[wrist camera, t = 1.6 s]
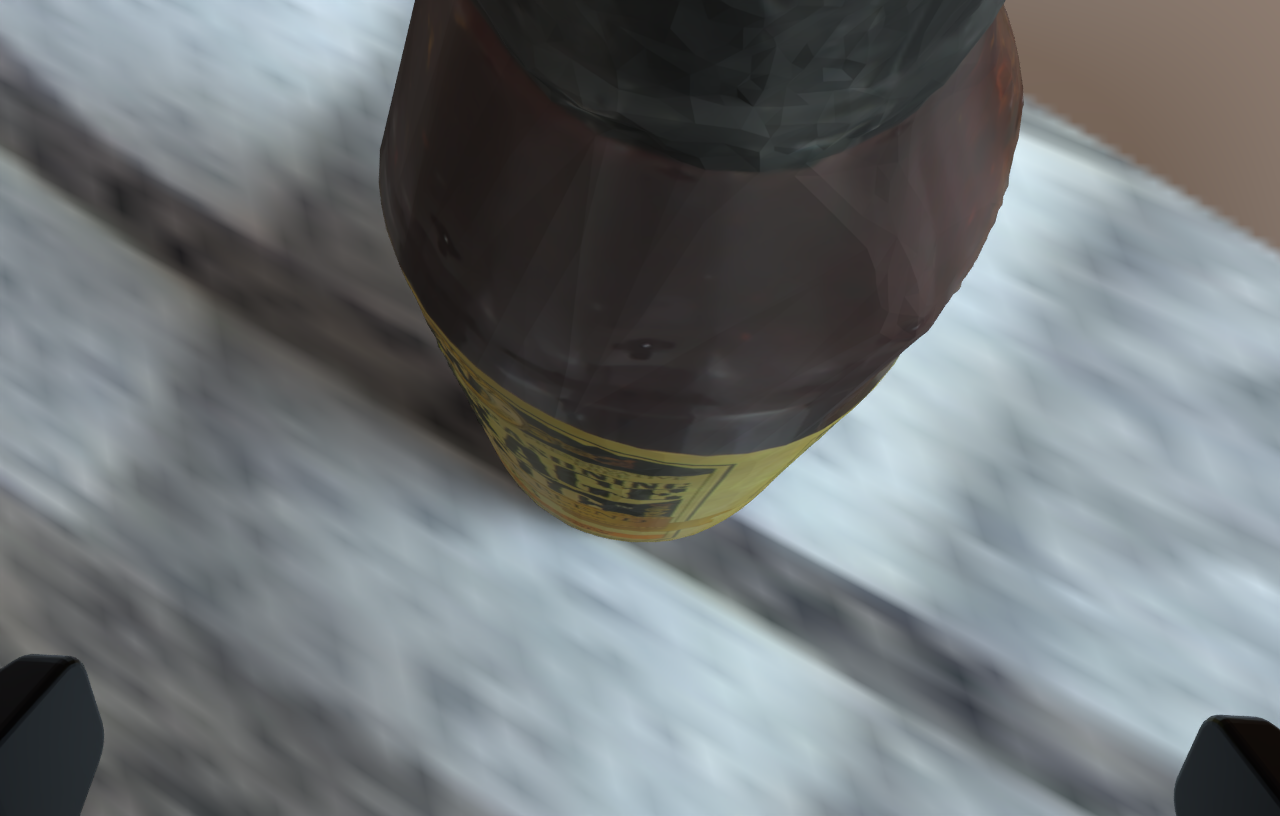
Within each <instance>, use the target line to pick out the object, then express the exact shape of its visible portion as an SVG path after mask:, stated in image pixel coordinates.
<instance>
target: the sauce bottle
mask: <svg viewBox="0 0 1280 816" xmlns="http://www.w3.org/2000/svg"><path fill="white" fill-rule="evenodd" d="M1004 2H1005V0H415V3H414V7H413V12H412V16H411V20H410V24H409V29H408V33H407V37H406V42H405V46H404V50H403V54H402V59H401V63H400V67H399V71H398V76H397V80H396V84H395V89H394V93H393V97H392V101H391V106H390V110H389V114H388V118H387V123H386V127H385V131H384V135H383V140H382V144H381V148H380V166H379V188H380V197H381V205H382V210H383V215H384V219H385V224H386V229H387V232H388V235H389V237H390V240H391V243H392V246H393V249H394V251H395V254H396V257H397V260H398V262H399V265H400V267H401V270H402V272H403V274H404V276H405V278H406V281H407V283H408V285H409V286H410V288H411V290H412V292H413V294H414V295H415V297H416V299H417V301H418V304H419V306H420V308H421V310H422V313H423V315H424V317H425V319H426V322H427V324H428V326H429V327H430V329H431V331H432V332H433V334H434V335H435V337H436V339H437V343H438V347H439V348H440V350H441V351H442V352H443V354H444V356H445V358H446V359H447V362H448V365H449V367H450V368H451V370H452V372H453V373H454V375H455V377H456V378H457V380H458V382H459V384H460V386H461V387H462V389H463V391H464V393H465V394H466V396H467V399H468V401H469V403H470V405H471V406H472V409H473V411H474V413H475V414H476V417H477V420H478V422H479V423H480V424H481V425H482V426H483V428H484V430H485V432H486V433H487V435H488V437H489V439H490V441H491V443H492V445H493V447H494V448H495V450H496V452H497V454H498V456H499V458H500V459H501V461H502V463H503V464H504V466H505V468H506V469H507V470H508V472H509V473H510V475H511V476H512V477H513V478H514V480H515V481H516V482H517V484H518V485H519V486H520V487H521V488H522V489H523V490H524V491H525V492H526V493H527V495H528V496H529V497H530V498H531V499H532V500H533V501H534V502H535V503H536V504H537V505H538V506H540V507H541V508H543V509H544V510H546V511H547V512H549V513H550V514H551V515H553V516H555V517H556V518H558V519H560V520H561V521H563V522H564V523H566V524H567V525H569V526H571V527H574V528H576V529H578V530H581V531H583V532H586V533H590V534H593V535H596V536H600V537H604V538H608V539H614V540H621V541H628V542H659V541H670V540H675V539H679V538H683V537H687V536H691V535H694V534H696V533H699V532H701V531H703V530H706V529H708V528H710V527H712V526H714V525H716V524H718V523H720V522H721V521H723V520H725V519H727V518H728V517H730V516H731V515H733V514H734V513H736V512H737V511H739V510H740V509H742V508H743V507H744V506H745V505H747V504H748V503H749V502H750V501H751V500H753V499H754V498H755V497H756V496H757V495H758V494H759V493H760V492H762V491H763V490H764V489H765V488H766V487H767V486H768V485H769V484H770V483H771V482H772V481H773V480H774V479H775V478H776V477H777V476H778V475H779V474H780V473H781V472H782V471H783V470H785V469H786V468H787V467H788V466H789V465H790V464H791V463H792V462H794V461H795V460H796V459H797V458H798V457H799V456H800V455H801V454H803V453H804V452H805V451H806V450H807V449H808V448H809V447H810V446H811V445H813V444H814V443H815V442H816V441H817V440H819V439H820V438H821V437H822V436H823V435H824V434H825V433H826V432H827V431H828V430H829V429H830V428H832V427H833V426H834V425H835V424H836V423H837V422H838V421H839V420H840V419H841V418H843V417H844V416H845V415H846V414H848V413H849V412H850V411H851V410H852V409H854V408H855V407H856V406H857V405H858V404H859V403H860V402H861V401H862V400H863V399H864V398H865V397H866V396H867V395H868V394H869V393H870V392H871V391H872V390H873V389H874V388H875V387H876V386H877V384H878V383H879V382H880V381H881V380H882V378H883V377H884V376H885V375H886V373H887V372H888V371H889V370H890V369H891V367H892V366H893V365H894V364H895V362H896V360H897V359H898V357H899V355H900V354H901V353H902V352H903V351H904V350H905V349H906V348H908V347H909V346H910V345H911V344H912V343H914V342H915V341H916V340H917V339H918V338H920V337H921V336H922V335H924V334H925V333H926V332H927V331H928V330H929V329H930V328H931V326H932V325H933V324H934V322H935V321H936V319H937V317H938V316H939V314H940V313H941V311H942V310H943V308H944V307H945V305H946V304H947V303H948V302H949V300H950V298H951V297H952V295H953V294H954V293H956V292H957V291H958V290H959V289H960V287H961V283H962V281H963V279H964V278H965V277H966V275H967V274H968V272H969V271H970V270H971V268H972V267H973V265H974V262H975V261H976V260H977V258H978V256H979V254H980V251H981V249H982V247H983V245H984V243H985V242H986V240H987V237H988V234H989V232H990V230H991V228H992V227H993V225H994V223H995V221H996V217H997V213H998V210H999V208H1000V207H1001V206H1002V203H1003V196H1004V194H1005V191H1006V189H1007V187H1008V184H1009V174H1010V169H1011V165H1012V161H1013V155H1014V151H1015V148H1016V145H1017V142H1018V138H1019V131H1020V123H1021V116H1022V108H1023V105H1024V101H1023V85H1022V78H1021V71H1020V63H1019V57H1018V52H1017V47H1016V43H1015V38H1014V35H1013V32H1012V28H1011V25H1010V21H1009V18H1008V14H1007V11H1006V9H1005V7H1004Z"/></svg>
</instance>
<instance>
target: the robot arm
mask: <svg viewBox="0 0 1280 816" xmlns="http://www.w3.org/2000/svg"><path fill="white" fill-rule="evenodd" d="M103 743H104V729H103V723H102V720H101V717H100V714H99V711H98V707H97V704H96V701H95V698H94V695H93V691H92V688H91V685H90V682H89V679H88V675H87V672H86V670H85V667H84V665H83V664H82V663H81V662H80V661H79V660H78V659H77V658H75V657H72V656H60V655H40V654H30V655H25V656H22V657H19V658H18V659H16V660H14V661H12V662H11V663H9V664H8V665H6V666H4V667H3V668H1V669H0V816H80V813H81V811H82V808H83V805H84V802H85V800H86V797H87V794H88V791H89V788H90V786H91V783H92V780H93V777H94V774H95V772H96V769H97V766H98V763H99V761H100V757H101V754H102V749H103ZM1174 806H1175V812H1176V816H1280V729H1279V728H1278V727H1276V726H1275V725H1273V724H1272V723H1270V722H1269V721H1267V720H1265V719H1262V718H1259V717H1251V716H1231V715H1214V716H1211V717H1209V718H1208V719H1207V720H1205V721H1204V722H1203V724H1202V725H1201V727H1200V729H1199V731H1198V734H1197V736H1196V738H1195V740H1194V742H1193V744H1192V747H1191V749H1190V751H1189V753H1188V755H1187V758H1186V760H1185V762H1184V764H1183V766H1182V768H1181V771H1180V773H1179V775H1178V777H1177V780H1176V783H1175V788H1174Z"/></svg>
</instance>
